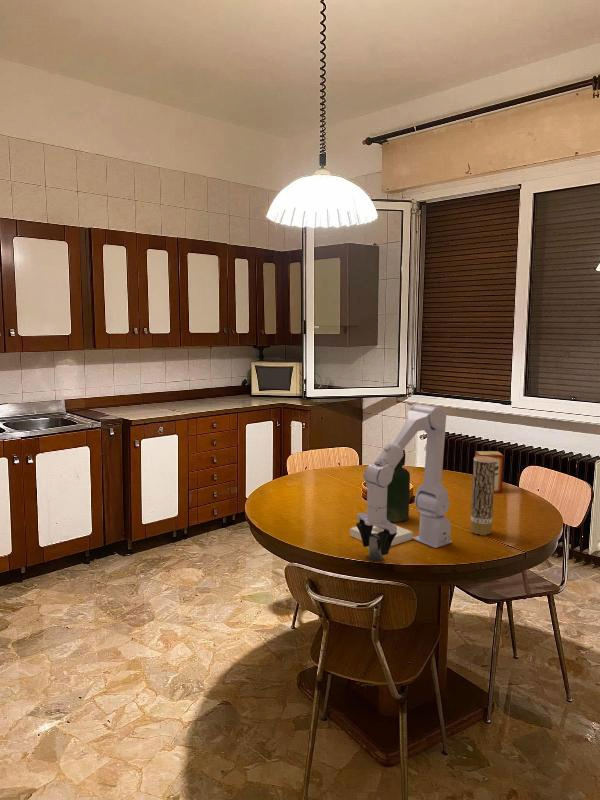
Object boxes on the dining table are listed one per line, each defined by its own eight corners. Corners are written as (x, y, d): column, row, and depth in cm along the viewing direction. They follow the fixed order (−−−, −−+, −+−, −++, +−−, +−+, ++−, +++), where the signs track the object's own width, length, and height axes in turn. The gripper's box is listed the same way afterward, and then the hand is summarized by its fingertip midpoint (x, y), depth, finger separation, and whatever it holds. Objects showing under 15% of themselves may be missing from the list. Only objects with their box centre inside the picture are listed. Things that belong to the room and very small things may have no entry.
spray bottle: (375, 513, 217) (377, 445, 214) (404, 512, 218) (406, 444, 215) (382, 523, 207) (384, 452, 204) (412, 522, 208) (414, 451, 204)
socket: (412, 539, 193) (412, 531, 192) (380, 549, 184) (380, 541, 184) (381, 526, 204) (381, 519, 203) (350, 535, 195) (350, 528, 195)
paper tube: (467, 528, 203) (471, 455, 199) (488, 529, 202) (492, 456, 199) (473, 536, 196) (476, 460, 192) (494, 536, 196) (498, 461, 192)
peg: (385, 559, 177) (385, 536, 176) (375, 562, 175) (375, 539, 174) (375, 554, 180) (376, 532, 179) (365, 557, 178) (366, 535, 177)
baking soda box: (477, 492, 243) (479, 454, 241) (473, 488, 250) (475, 450, 247) (501, 493, 243) (503, 454, 241) (496, 488, 249) (498, 450, 247)
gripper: (349, 501, 178) (348, 545, 180) (384, 514, 167) (383, 561, 169) (367, 497, 183) (366, 540, 185) (402, 510, 171) (400, 555, 173)
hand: (375, 550), depth 177 cm, fingers open, 7 cm apart
